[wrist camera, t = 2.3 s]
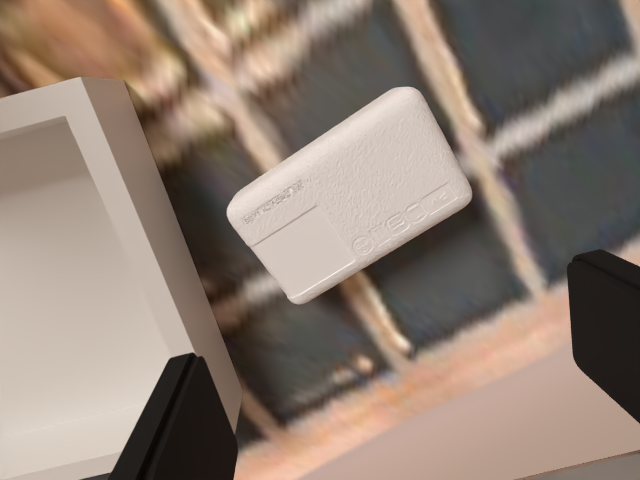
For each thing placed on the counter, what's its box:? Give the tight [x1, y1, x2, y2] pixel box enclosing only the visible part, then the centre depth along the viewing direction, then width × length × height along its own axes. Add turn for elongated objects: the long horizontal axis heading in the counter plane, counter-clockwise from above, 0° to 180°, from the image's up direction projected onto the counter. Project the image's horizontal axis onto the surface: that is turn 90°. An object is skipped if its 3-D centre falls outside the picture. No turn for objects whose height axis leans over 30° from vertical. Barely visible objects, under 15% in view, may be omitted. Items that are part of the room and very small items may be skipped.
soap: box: [227, 87, 472, 304], centre depth 18 cm, size 9×6×3 cm, turn 123°
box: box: [0, 77, 243, 480], centre depth 18 cm, size 16×16×4 cm
